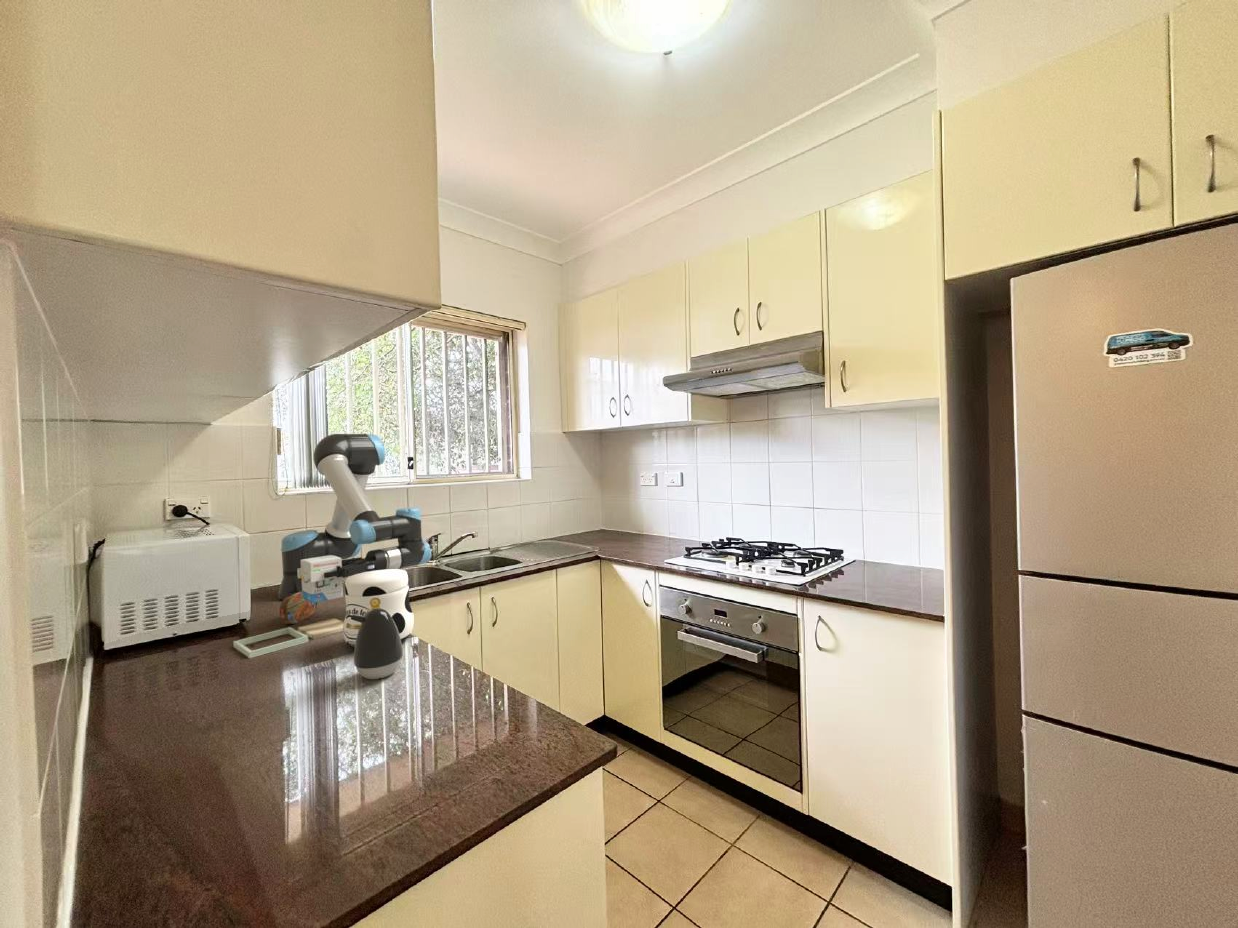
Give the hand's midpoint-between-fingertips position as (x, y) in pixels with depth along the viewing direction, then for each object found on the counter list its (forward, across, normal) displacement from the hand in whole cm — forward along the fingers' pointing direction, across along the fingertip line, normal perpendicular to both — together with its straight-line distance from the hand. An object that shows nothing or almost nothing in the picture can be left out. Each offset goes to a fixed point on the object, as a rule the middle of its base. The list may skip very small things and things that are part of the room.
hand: (304, 575), depth 146 cm
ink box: (-5, 0, -8) cm, 9 cm away
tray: (+9, 0, -17) cm, 19 cm away
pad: (-5, 0, -17) cm, 18 cm away
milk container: (-10, -24, -17) cm, 31 cm away
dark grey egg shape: (+1, -45, -17) cm, 48 cm away
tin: (-4, +18, -17) cm, 25 cm away
